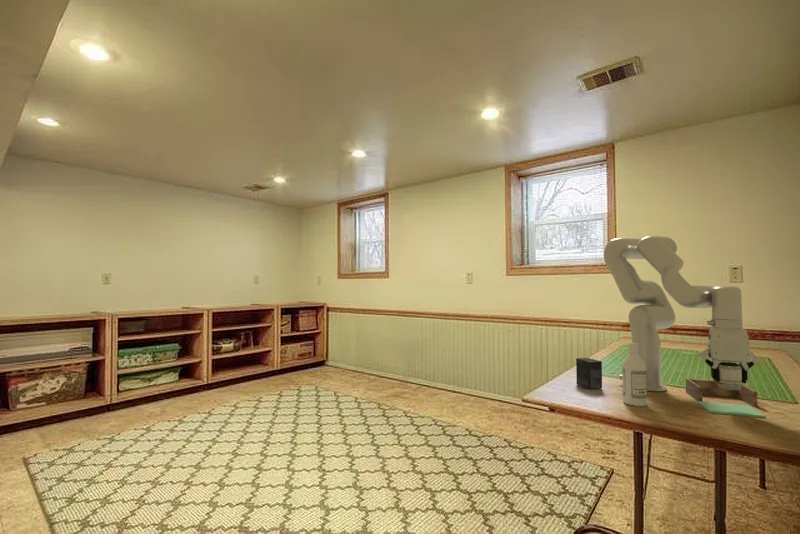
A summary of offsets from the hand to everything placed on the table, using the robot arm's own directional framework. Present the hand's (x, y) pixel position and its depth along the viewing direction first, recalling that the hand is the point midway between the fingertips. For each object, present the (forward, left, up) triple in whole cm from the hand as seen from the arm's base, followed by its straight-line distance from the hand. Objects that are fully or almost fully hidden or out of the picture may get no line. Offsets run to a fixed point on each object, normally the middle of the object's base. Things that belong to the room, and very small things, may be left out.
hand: (729, 380), depth 128 cm
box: (-39, +15, -9) cm, 43 cm away
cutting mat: (0, 0, -9) cm, 9 cm away
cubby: (+2, +13, -9) cm, 16 cm away
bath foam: (-27, -3, -9) cm, 29 cm away
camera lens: (0, 0, -2) cm, 2 cm away
